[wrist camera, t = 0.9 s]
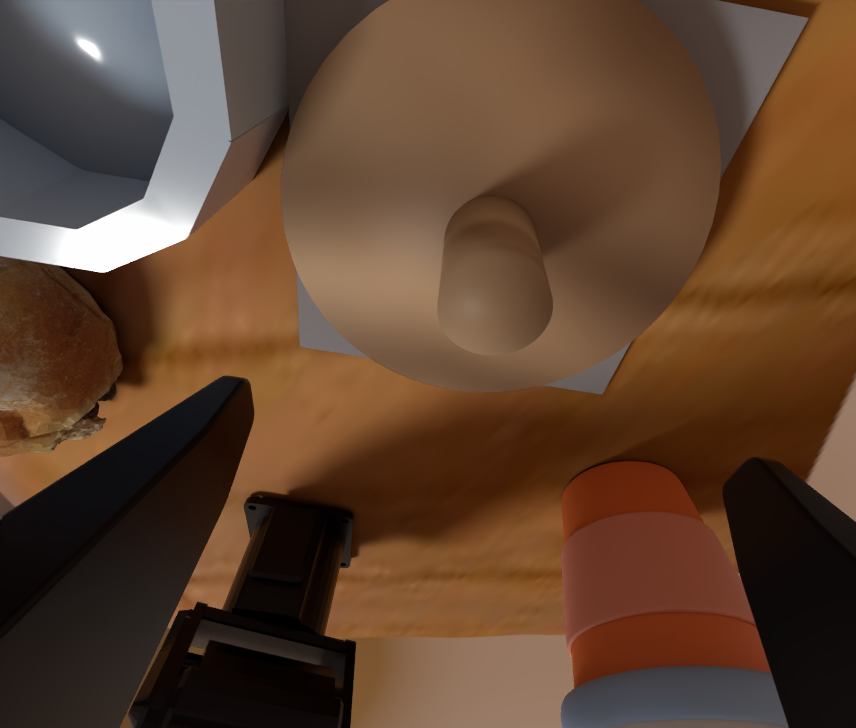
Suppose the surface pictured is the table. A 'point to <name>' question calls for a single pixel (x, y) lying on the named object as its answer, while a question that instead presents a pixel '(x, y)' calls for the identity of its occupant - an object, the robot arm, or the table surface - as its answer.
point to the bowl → (131, 121)
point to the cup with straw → (655, 611)
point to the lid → (500, 186)
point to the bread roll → (51, 358)
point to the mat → (673, 3)
